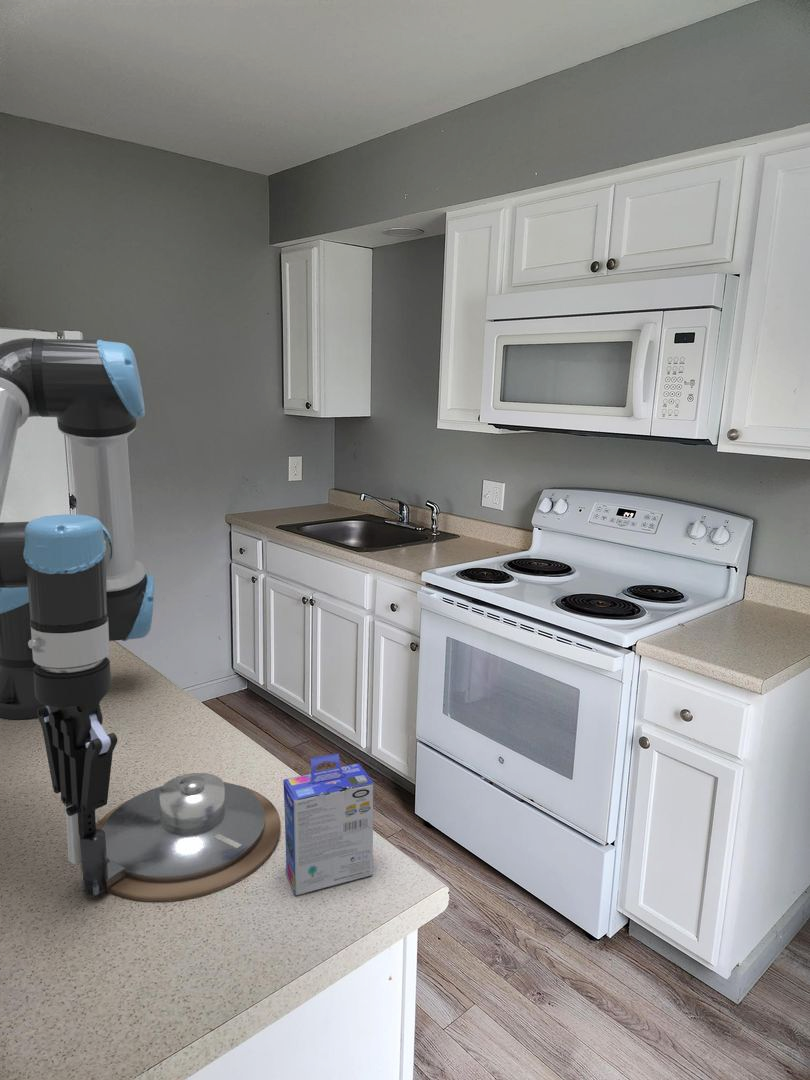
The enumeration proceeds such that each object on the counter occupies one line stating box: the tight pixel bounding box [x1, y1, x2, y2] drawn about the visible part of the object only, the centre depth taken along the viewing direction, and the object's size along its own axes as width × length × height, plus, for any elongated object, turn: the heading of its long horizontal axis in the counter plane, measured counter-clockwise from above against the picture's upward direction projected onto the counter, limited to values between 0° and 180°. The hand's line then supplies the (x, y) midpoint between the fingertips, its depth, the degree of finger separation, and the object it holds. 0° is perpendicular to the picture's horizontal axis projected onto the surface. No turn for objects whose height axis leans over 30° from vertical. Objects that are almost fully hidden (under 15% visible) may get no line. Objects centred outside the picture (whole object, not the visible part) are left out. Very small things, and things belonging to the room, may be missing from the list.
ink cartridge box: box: [282, 753, 375, 896], centre depth 86 cm, size 10×6×14 cm, turn 114°
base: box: [96, 783, 281, 903], centre depth 94 cm, size 24×24×1 cm
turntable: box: [80, 781, 265, 896], centre depth 91 cm, size 20×24×6 cm
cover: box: [159, 772, 225, 836], centre depth 94 cm, size 8×8×5 cm
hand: (83, 856), depth 83 cm, fingers closed
